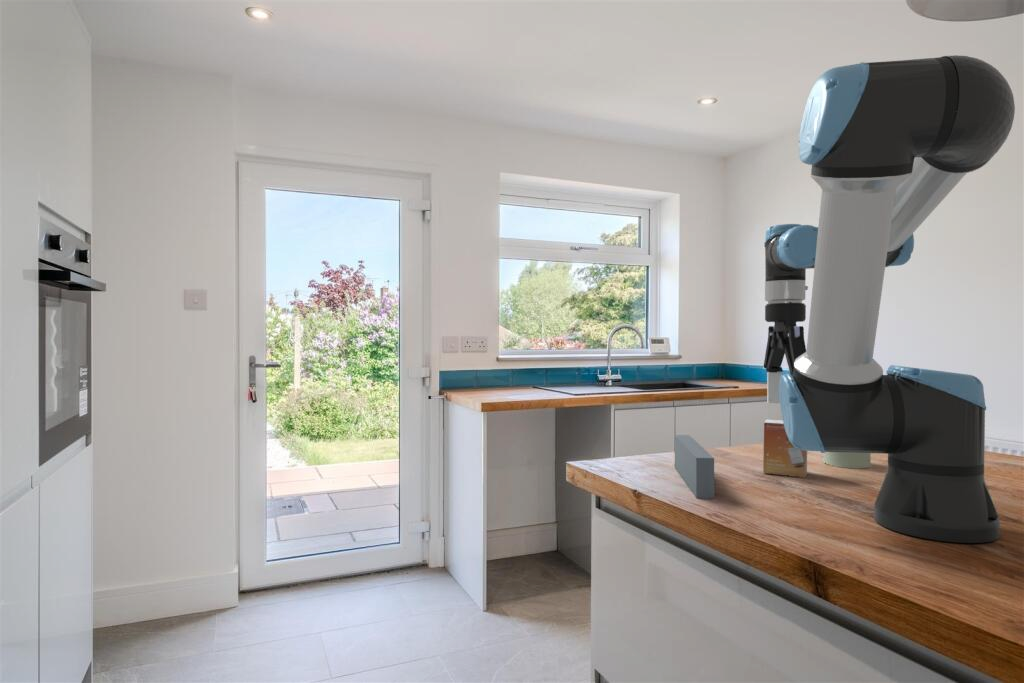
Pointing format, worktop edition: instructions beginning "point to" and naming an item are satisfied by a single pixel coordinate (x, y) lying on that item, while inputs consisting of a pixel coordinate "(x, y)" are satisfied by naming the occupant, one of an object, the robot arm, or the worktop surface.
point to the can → (848, 459)
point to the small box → (781, 452)
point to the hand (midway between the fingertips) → (784, 407)
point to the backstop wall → (694, 466)
